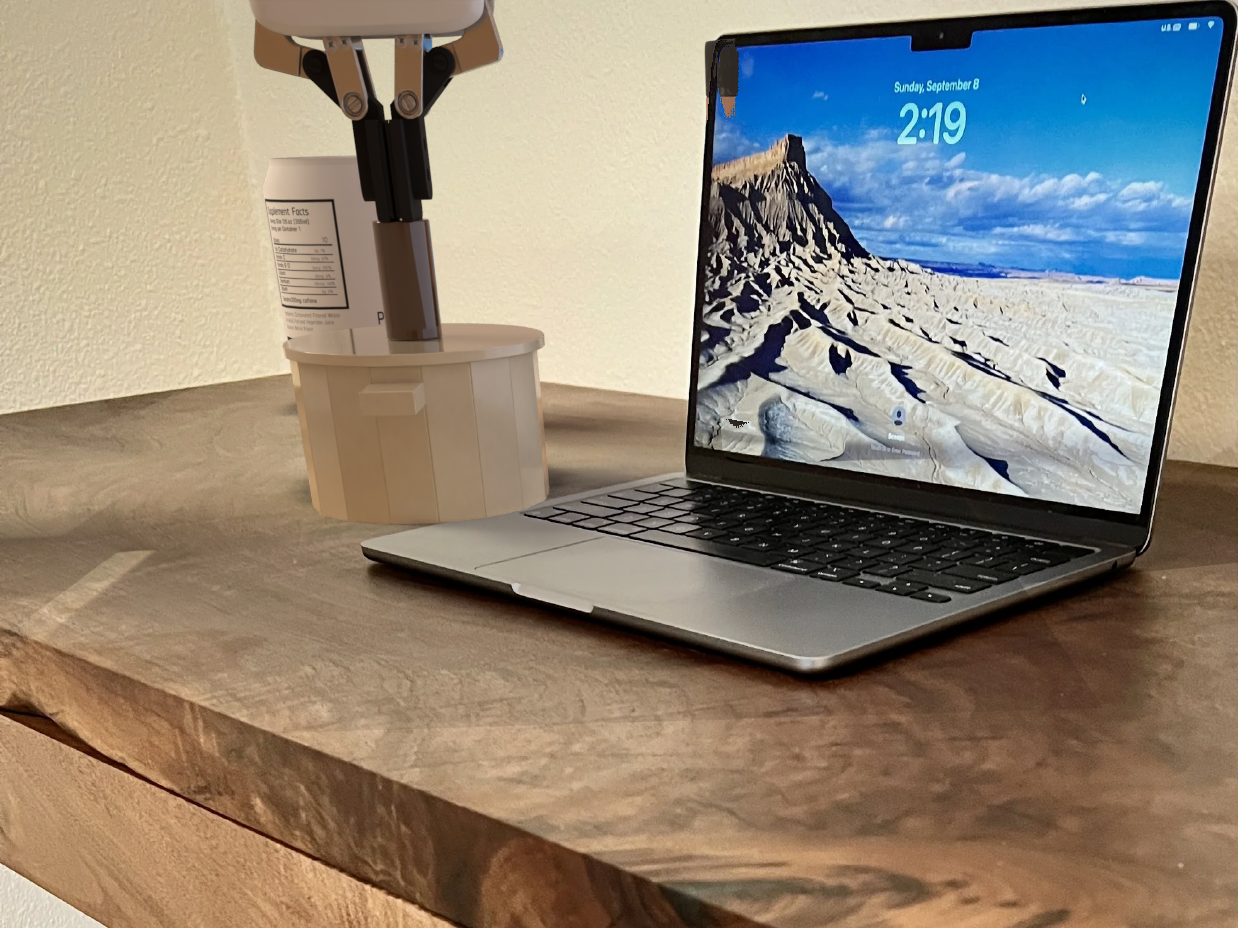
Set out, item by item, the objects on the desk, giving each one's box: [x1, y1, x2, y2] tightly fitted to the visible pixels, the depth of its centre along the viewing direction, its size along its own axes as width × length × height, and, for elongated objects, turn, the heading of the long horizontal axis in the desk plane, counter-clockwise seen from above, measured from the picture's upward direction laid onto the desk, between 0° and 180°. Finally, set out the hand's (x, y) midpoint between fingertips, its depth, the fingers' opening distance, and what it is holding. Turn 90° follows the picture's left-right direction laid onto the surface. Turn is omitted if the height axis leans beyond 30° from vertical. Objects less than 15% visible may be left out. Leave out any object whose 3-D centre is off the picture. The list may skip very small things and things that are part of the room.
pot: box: [289, 350, 550, 525], centre depth 78 cm, size 11×17×7 cm
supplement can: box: [262, 154, 385, 341], centre depth 99 cm, size 8×8×15 cm
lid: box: [282, 217, 546, 367], centre depth 75 cm, size 12×12×6 cm
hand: (401, 218), depth 74 cm, fingers closed
